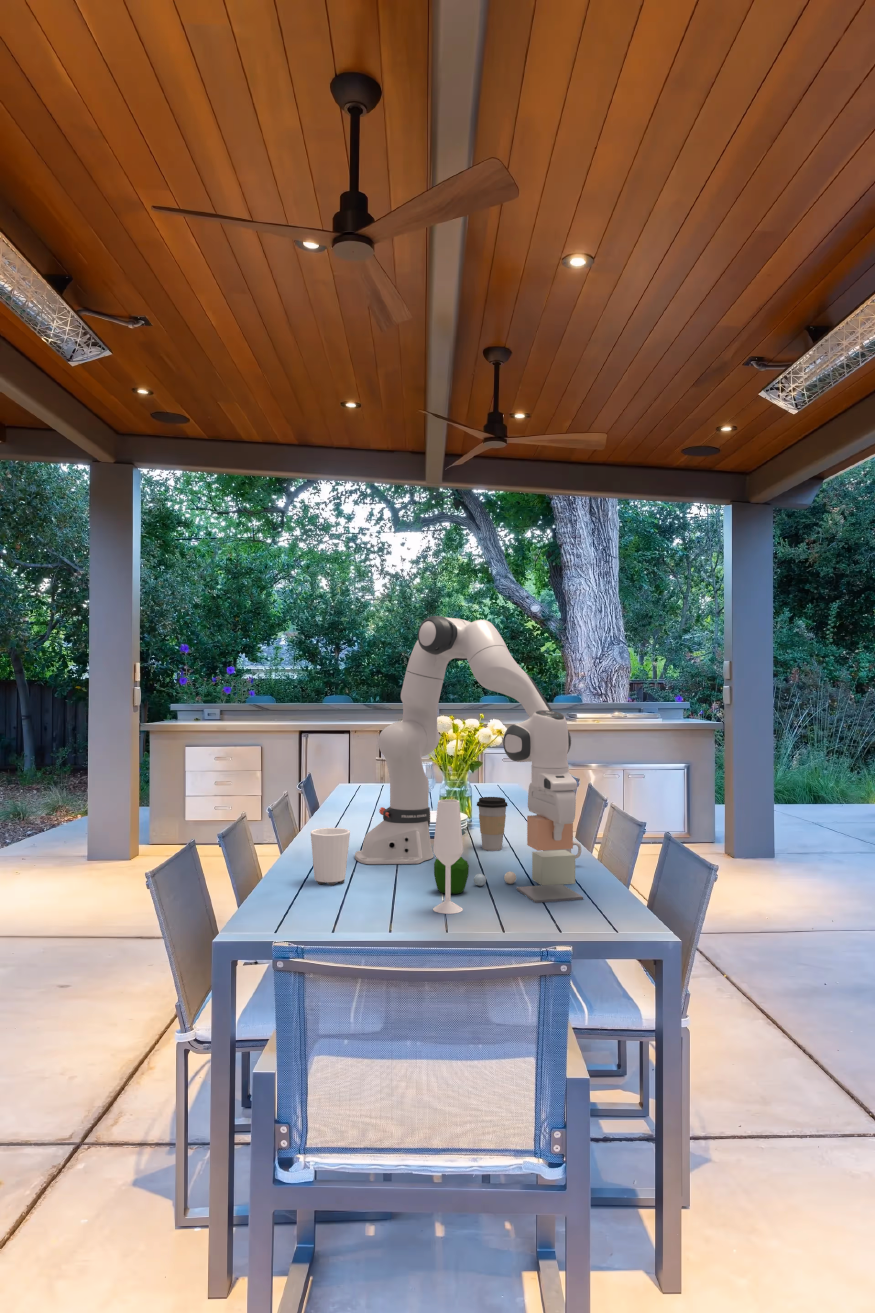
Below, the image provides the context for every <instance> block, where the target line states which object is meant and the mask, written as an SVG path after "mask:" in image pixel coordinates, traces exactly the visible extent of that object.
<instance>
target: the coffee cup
mask: <svg viewBox="0 0 875 1313" xmlns="http://www.w3.org/2000/svg"><path fill="white" fill-rule="evenodd" d="M476 806H477V807H478V813H479V814H478V820H479V831H480V832H479V833H480V834H481V835H480V836H481V845H482V846H481V847H482V850H484V851H490V852H491V851H492V852H493V851H494V852H495V851H496V852H497V851H501V850H502V849H503V841H504V833H505V825H506V817H507V815H506V813H507V812H506V811H507V807H508V806H509V805H508V802H507V801H506V798H504V797H502V796H501V797H500V796H499V797H498V796H482V797H480V798H478V801H476Z"/></svg>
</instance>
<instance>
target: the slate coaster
mask: <svg viewBox="0 0 875 1313" xmlns="http://www.w3.org/2000/svg"><path fill="white" fill-rule="evenodd" d="M516 891H518V892H519V893H520V894H522V895H524V896H525V895H526V896H527V897H526V896H525V897H526V898H528V899H529V900H531V901H532V900H533V903H535V904H539V903H549V902H550V903H553V902H566V901H578V900H581V901H582V900H584V896H583V895H581V894H579V893H578V892H576V891H575V890H573V889H571V888H570V887H568V886H567V885H565V884H555V885H540V884H539V885H530V886H529V885H528V886H527V885H526V886H516Z"/></svg>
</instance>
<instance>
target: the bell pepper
mask: <svg viewBox="0 0 875 1313" xmlns="http://www.w3.org/2000/svg"><path fill="white" fill-rule="evenodd" d="M433 864H434V865H433V874H434V875H433V876H434V880H435V881H434V882H435V884H436V889H437V890H438V891H439V892H440V893H443V894H445V873H446V866H445V865H444V864H442V863H441V862H440V861H439V860H438V859H437V858H435V861H434V863H433ZM469 867H470V865H469V863H468V861H467V860H466V859H464V857H462V856H461V857H460V858H459V859H458V860H457V861H456V862H455V863H454V864H453V865H451V894H460V893H463V892H464V890H465V889H466V885H467V882H468V878H469V872H470V869H469Z"/></svg>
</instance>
